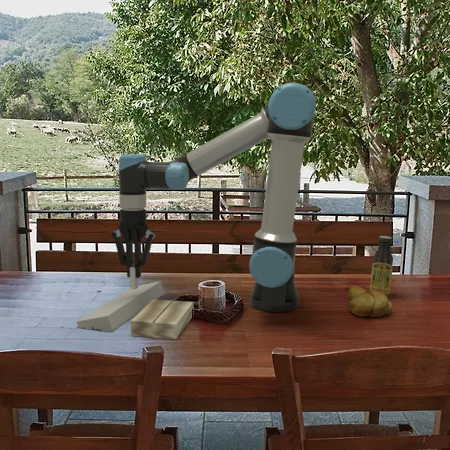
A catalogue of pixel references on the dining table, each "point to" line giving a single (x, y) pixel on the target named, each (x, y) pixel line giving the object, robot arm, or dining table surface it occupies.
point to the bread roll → (368, 302)
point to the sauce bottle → (382, 267)
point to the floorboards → (162, 319)
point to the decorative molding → (122, 308)
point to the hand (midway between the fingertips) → (134, 288)
